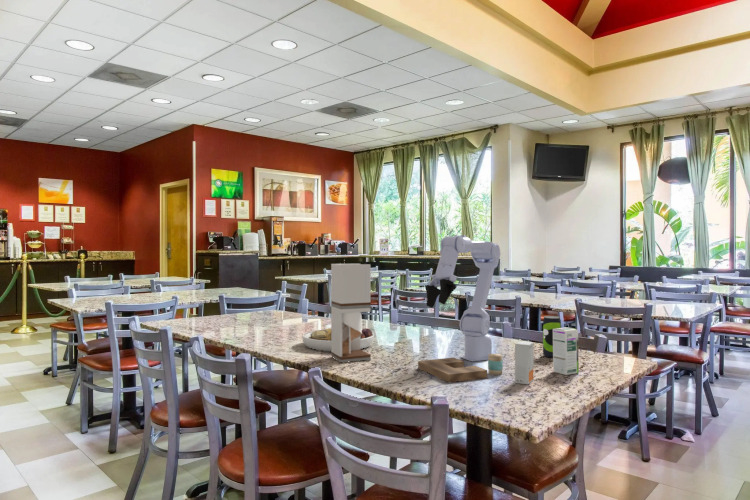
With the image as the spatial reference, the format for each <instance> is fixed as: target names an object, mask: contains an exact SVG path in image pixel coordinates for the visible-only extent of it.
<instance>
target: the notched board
mask: <svg viewBox="0 0 750 500" xmlns="http://www.w3.org/2000/svg"><path fill="white" fill-rule="evenodd" d="M464 365H465V362H464V361H463V360H461V359H459V358H456V357H446V358H445V357H444V358H436V359H426V360H425V359H424V360H418V361H417V366H418V367H417V369H418V368H419V370H421V371H422V372H425V373H427V372H428V373H427V374H429V373H430V374H429V375H431V374H432V375H431V376H433V375H434V376H433V377H435V376H436V377H435V378H437V377H438V379H440V380H442V379H443V380H442V381H444V380H445V381H444V382H446V381H447V382H446V383H448V382H451V383H457V382H456V381H459V382H465V381H466V382H467V380H468V381H474V379H476V380H484V379H488V370H487V369H485V368H482V367H480V366H477V365H472V366H464ZM483 378H484V379H483Z"/></svg>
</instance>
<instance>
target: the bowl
mask: <svg viewBox="0 0 750 500" xmlns="http://www.w3.org/2000/svg"><path fill="white" fill-rule="evenodd" d="M301 338H302V343H303V344H304V345H305V347H306V348H309V349H311V348H312V349H311V350H314V349H316V350H315V351H319V350H323V351H322V352H330V351H331V328H330V327H329V328H325V329H316V330H311V331H307V332H304V333H303V334H302V337H301ZM374 340H375V333H374V332H372V330H371V329H370V328H367V327H366V328H362V335H361V350H363V348H364V349H366V348H368V347H369V346H371V345H372V344H373V342H374Z"/></svg>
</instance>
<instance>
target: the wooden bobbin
mask: <svg viewBox="0 0 750 500" xmlns="http://www.w3.org/2000/svg"><path fill="white" fill-rule="evenodd" d="M503 361H504V360H503V354H499V353H492V354H489V355H488V360H487V369H488V370H487V374H488V375H491V376H501V375H503V368H504V367H503V364H504V363H503Z"/></svg>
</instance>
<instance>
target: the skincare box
mask: <svg viewBox="0 0 750 500" xmlns="http://www.w3.org/2000/svg"><path fill="white" fill-rule="evenodd" d="M534 344H535V343H534V342H532V341H525V340H520V341H518V342H517V343H514V351H515V352H514V383H515V384H521V385H527V386H529V384H530V383H532V382H533V381H534V353H535V349H534V348H535V347H534Z"/></svg>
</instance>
